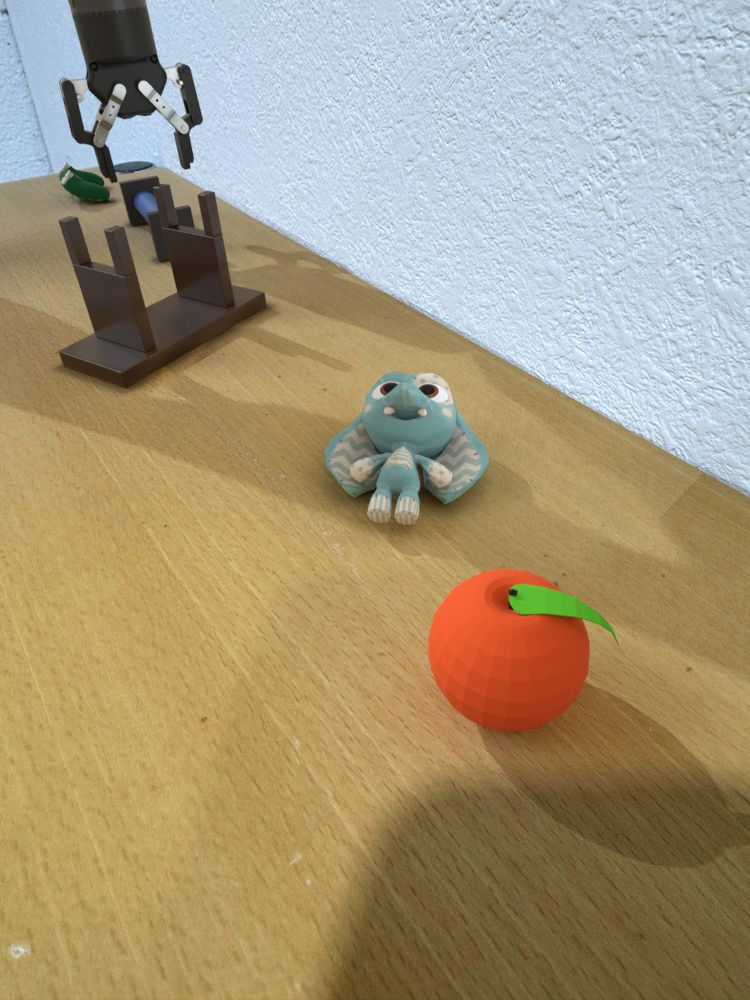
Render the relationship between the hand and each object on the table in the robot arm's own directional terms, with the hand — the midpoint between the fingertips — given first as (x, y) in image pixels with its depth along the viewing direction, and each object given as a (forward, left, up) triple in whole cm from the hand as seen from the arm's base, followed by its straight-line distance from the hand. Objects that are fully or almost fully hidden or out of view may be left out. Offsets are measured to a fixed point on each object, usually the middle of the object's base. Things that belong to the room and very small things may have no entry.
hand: (150, 174), depth 81 cm
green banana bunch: (-24, +8, -8) cm, 27 cm away
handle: (0, 0, -7) cm, 7 cm away
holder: (+21, -19, -7) cm, 29 cm away
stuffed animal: (+51, -27, -8) cm, 58 cm away
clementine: (+64, -39, -8) cm, 75 cm away
